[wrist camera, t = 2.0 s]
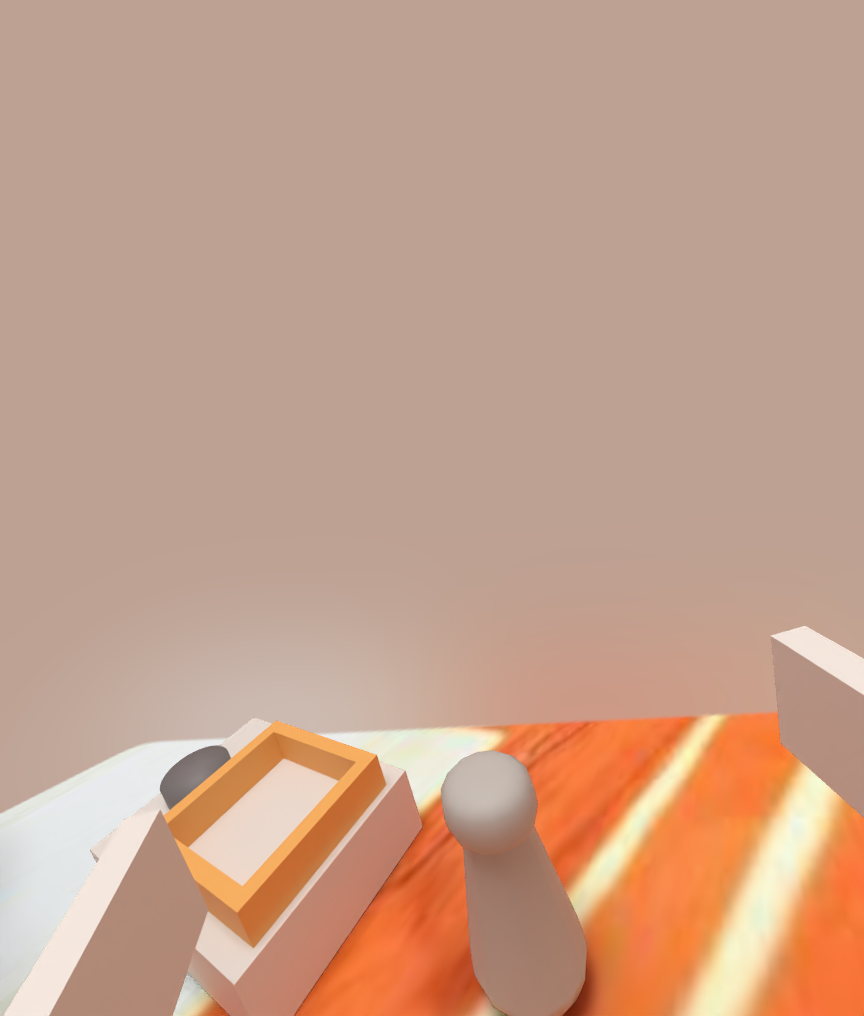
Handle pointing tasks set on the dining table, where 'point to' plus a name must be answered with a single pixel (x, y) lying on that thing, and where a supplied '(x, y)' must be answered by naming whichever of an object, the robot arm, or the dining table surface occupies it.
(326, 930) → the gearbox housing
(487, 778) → the salt shaker
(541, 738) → the dining table surface
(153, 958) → the robot arm
